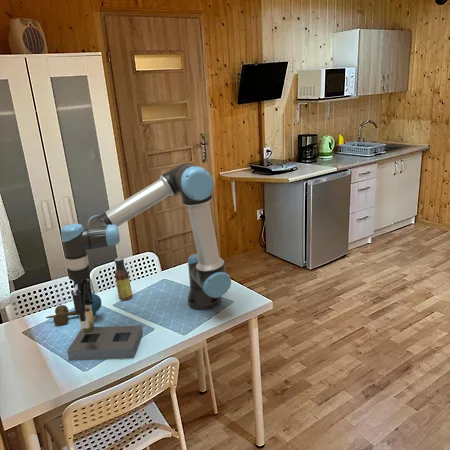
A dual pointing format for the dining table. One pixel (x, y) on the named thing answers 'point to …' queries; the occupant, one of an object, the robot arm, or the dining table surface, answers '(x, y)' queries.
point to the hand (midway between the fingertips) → (87, 323)
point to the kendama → (62, 315)
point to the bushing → (90, 321)
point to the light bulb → (95, 305)
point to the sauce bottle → (122, 280)
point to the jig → (106, 343)
